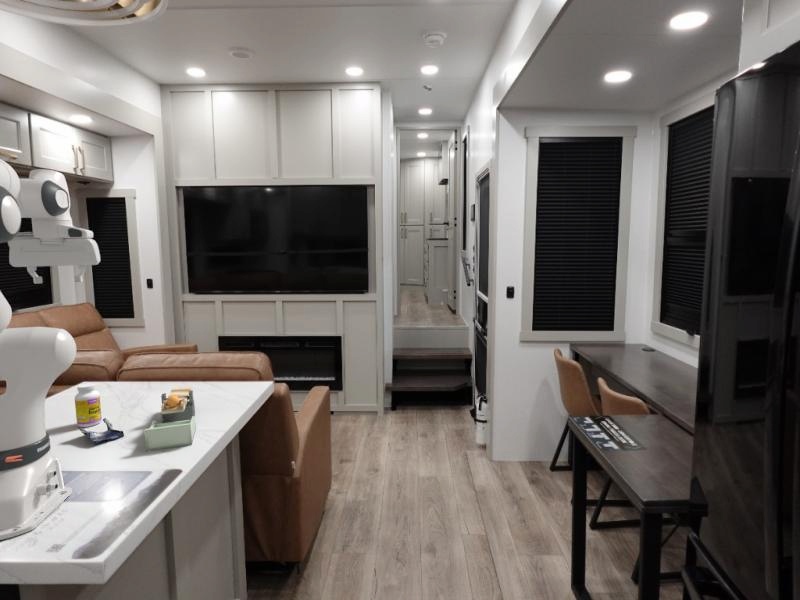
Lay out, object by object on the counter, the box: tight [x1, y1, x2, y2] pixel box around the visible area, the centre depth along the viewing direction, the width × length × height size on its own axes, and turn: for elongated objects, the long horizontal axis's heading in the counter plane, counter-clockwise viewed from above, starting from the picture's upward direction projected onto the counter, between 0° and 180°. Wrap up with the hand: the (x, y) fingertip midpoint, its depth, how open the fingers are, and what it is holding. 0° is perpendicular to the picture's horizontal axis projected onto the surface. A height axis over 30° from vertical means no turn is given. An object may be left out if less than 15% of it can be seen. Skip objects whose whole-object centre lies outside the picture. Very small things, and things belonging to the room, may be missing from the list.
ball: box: [167, 396, 180, 407], centre depth 141 cm, size 4×4×4 cm
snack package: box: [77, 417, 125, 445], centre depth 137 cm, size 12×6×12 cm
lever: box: [160, 385, 192, 415], centre depth 150 cm, size 24×7×5 cm, turn 19°
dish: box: [143, 415, 197, 452], centre depth 135 cm, size 13×12×6 cm
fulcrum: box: [161, 389, 196, 423], centre depth 150 cm, size 6×9×9 cm, turn 109°
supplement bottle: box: [74, 382, 103, 428], centre depth 148 cm, size 7×7×13 cm
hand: (58, 282), depth 127 cm, fingers open, 8 cm apart
